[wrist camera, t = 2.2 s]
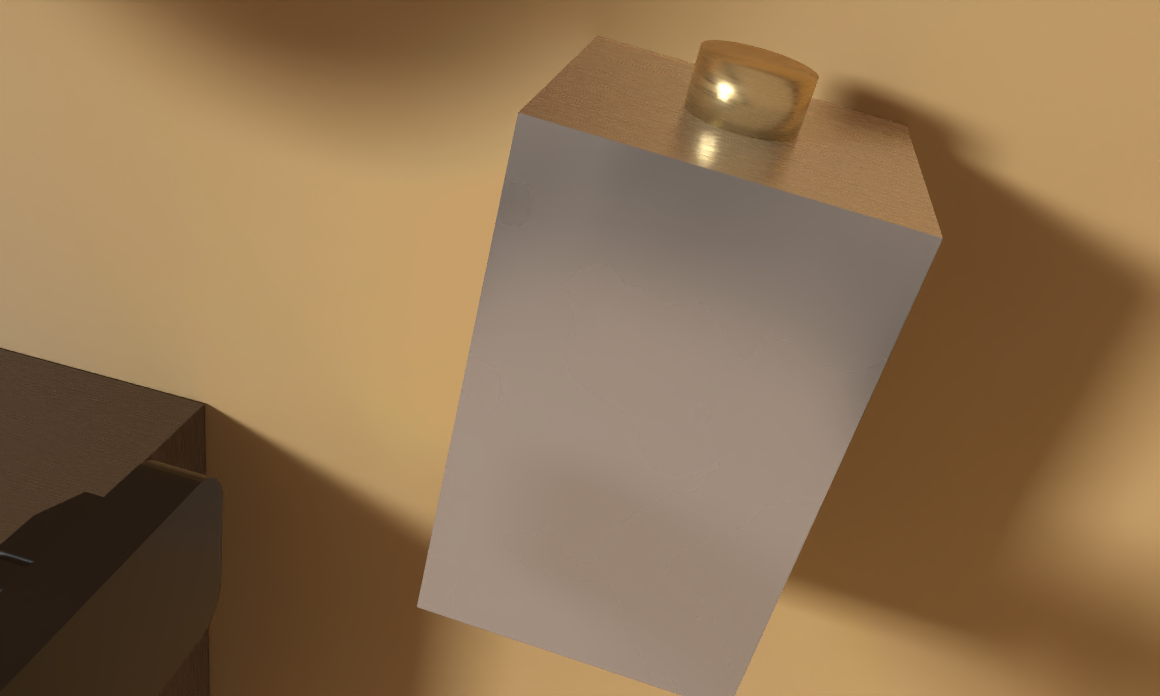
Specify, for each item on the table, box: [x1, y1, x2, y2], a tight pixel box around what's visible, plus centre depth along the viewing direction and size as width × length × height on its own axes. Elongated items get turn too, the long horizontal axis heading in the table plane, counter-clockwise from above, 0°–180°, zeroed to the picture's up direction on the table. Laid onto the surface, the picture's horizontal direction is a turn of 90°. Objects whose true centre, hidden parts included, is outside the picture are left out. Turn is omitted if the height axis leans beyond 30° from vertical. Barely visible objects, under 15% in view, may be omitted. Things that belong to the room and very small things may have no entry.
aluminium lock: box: [417, 36, 943, 696], centre depth 15 cm, size 9×5×5 cm, turn 167°
